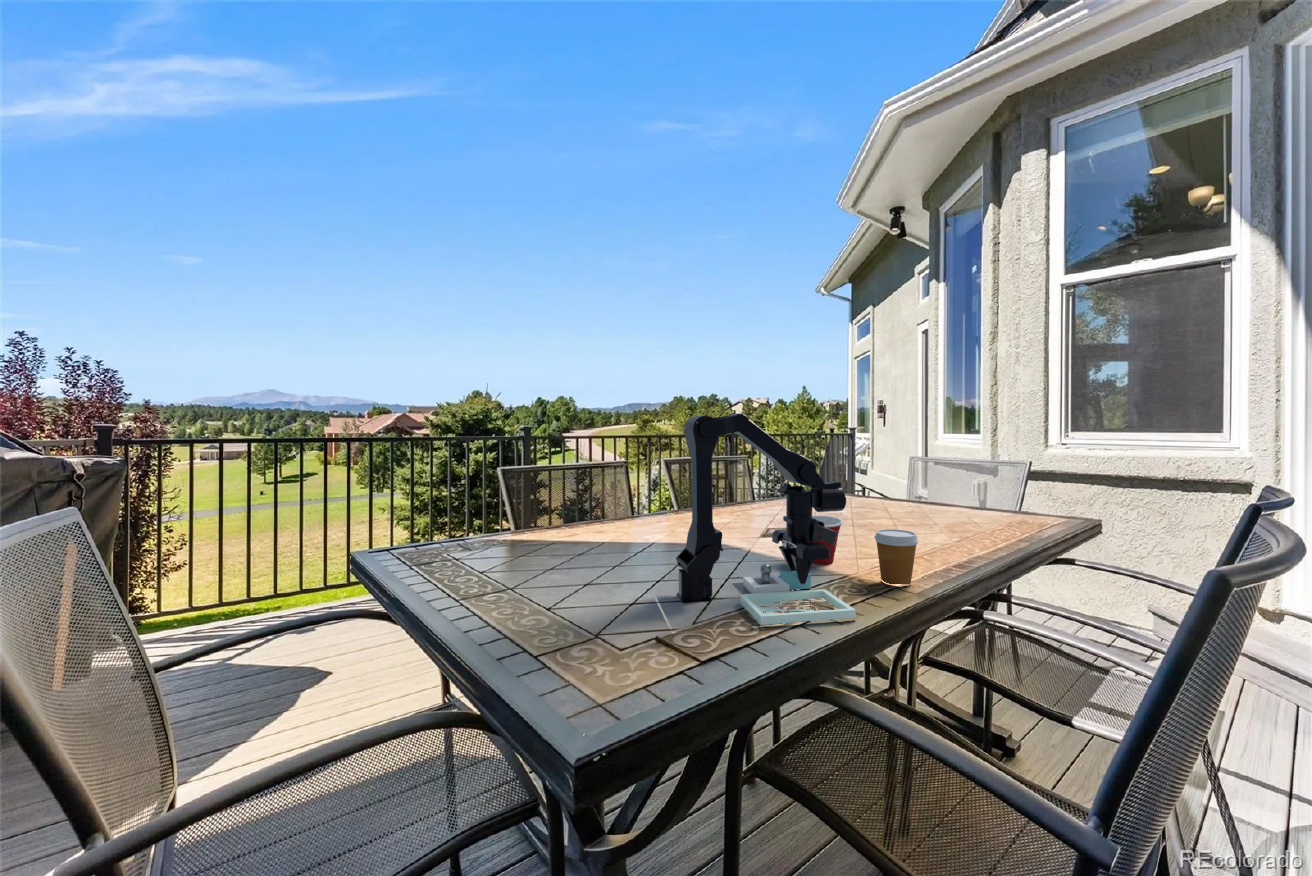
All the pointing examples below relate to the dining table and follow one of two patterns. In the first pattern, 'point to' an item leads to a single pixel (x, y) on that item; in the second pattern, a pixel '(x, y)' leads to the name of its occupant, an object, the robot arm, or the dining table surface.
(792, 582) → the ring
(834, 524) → the plastic cup
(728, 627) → the dining table surface
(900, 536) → the disposable coffee cup
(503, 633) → the dining table surface
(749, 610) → the tray
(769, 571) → the peg stand
